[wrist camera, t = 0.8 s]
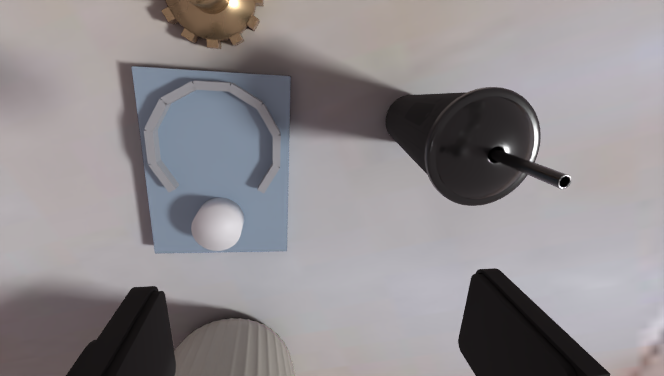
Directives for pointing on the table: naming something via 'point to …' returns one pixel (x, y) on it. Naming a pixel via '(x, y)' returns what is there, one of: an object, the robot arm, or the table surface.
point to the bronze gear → (213, 19)
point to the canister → (233, 351)
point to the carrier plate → (215, 158)
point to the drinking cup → (472, 142)
